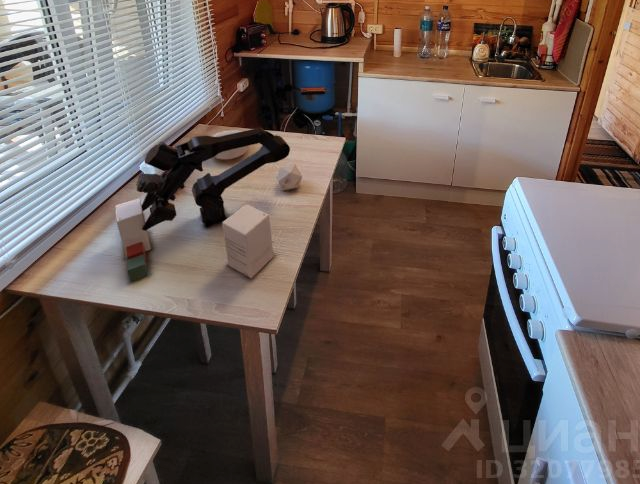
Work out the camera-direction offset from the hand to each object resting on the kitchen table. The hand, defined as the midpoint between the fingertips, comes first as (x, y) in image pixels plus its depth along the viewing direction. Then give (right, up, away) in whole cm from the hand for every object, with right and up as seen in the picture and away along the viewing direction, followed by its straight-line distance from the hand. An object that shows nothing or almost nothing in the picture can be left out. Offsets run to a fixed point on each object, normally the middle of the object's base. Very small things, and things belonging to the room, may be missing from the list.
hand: (142, 219), depth 110 cm
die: (+38, +2, +28) cm, 47 cm away
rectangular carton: (+33, -10, -3) cm, 34 cm away
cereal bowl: (+9, +9, +48) cm, 50 cm away
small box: (-2, -8, +1) cm, 9 cm away
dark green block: (+4, -12, -8) cm, 14 cm away
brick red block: (+1, -10, -4) cm, 11 cm away
